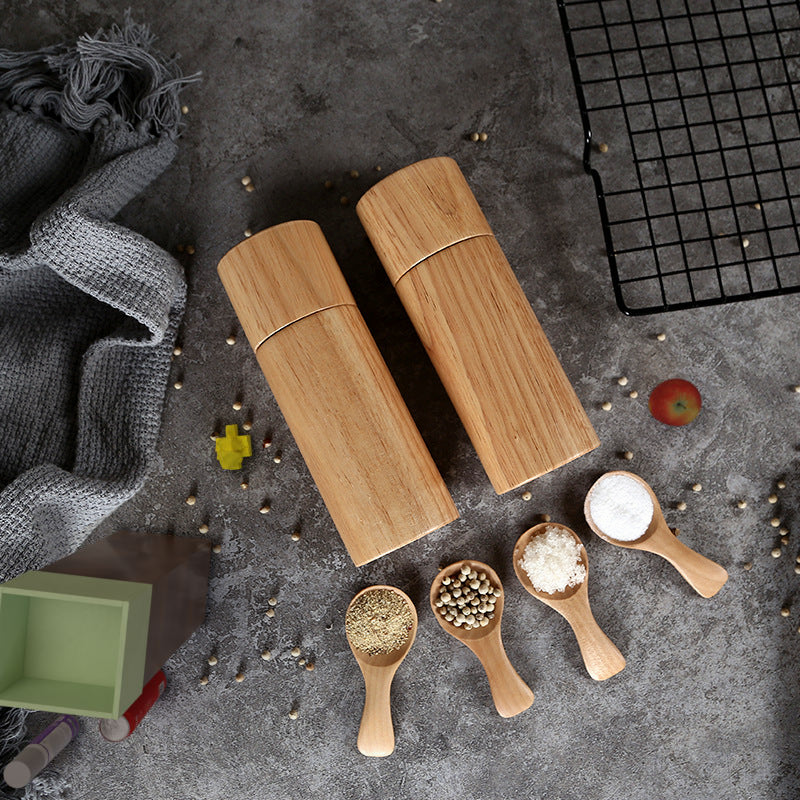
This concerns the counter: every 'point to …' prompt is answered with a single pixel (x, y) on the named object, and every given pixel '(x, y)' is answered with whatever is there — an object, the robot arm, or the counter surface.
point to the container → (41, 751)
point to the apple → (675, 402)
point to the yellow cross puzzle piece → (232, 448)
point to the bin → (72, 643)
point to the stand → (152, 582)
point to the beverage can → (133, 711)
